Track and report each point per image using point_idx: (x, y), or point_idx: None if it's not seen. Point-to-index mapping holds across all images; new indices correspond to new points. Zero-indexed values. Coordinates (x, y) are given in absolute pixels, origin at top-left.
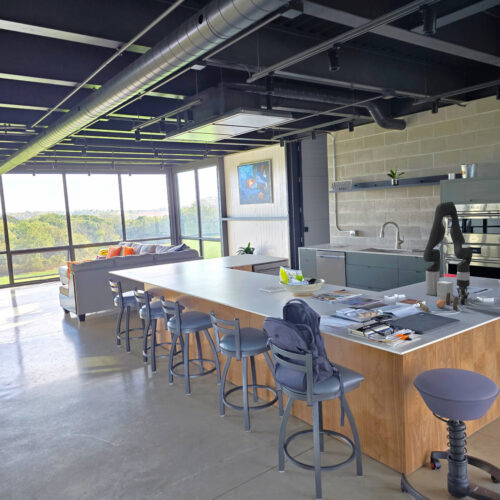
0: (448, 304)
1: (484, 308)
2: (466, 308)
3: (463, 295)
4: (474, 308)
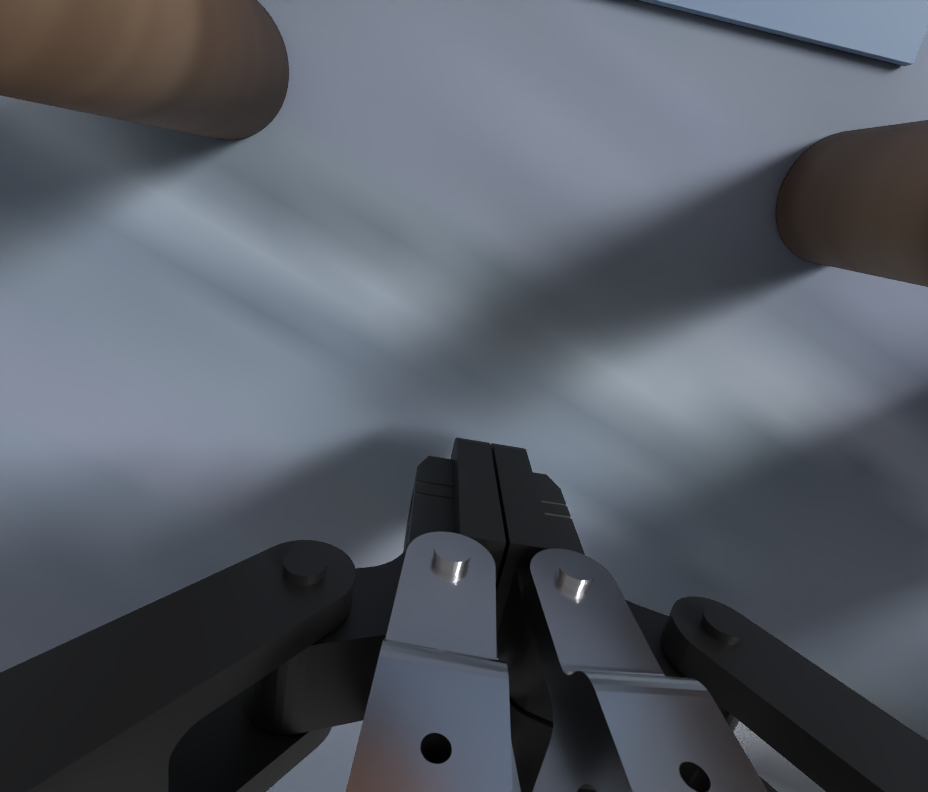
0: (798, 178)
1: None
2: (326, 461)
3: (66, 727)
4: None
